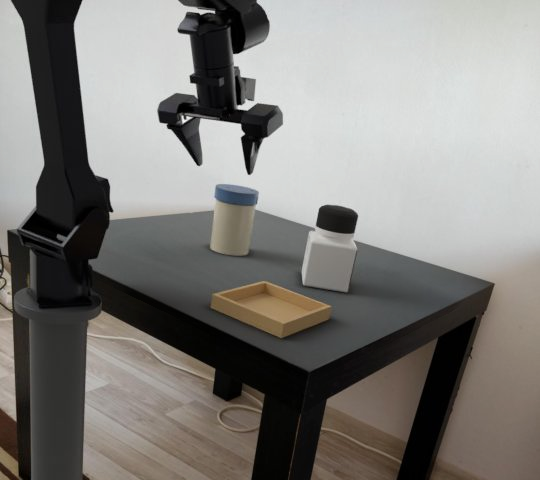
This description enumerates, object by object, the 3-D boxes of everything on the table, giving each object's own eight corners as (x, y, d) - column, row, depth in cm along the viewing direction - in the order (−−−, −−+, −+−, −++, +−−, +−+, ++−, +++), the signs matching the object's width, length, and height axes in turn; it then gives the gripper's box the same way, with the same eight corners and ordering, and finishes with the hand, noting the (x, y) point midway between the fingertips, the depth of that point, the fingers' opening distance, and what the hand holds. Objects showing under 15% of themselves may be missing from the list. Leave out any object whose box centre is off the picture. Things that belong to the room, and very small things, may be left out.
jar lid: (262, 202, 100) (264, 191, 100) (249, 207, 94) (251, 195, 93) (223, 193, 102) (224, 182, 101) (207, 198, 95) (209, 186, 95)
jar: (222, 256, 97) (230, 194, 93) (203, 244, 102) (209, 185, 98) (256, 255, 101) (265, 196, 97) (236, 244, 106) (243, 187, 102)
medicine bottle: (348, 293, 89) (365, 215, 84) (302, 286, 89) (317, 207, 84) (343, 279, 96) (359, 206, 91) (301, 273, 96) (315, 199, 91)
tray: (281, 338, 69) (283, 323, 68) (210, 307, 74) (212, 293, 73) (328, 319, 77) (331, 306, 77) (262, 293, 83) (264, 280, 82)
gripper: (297, 52, 84) (299, 157, 94) (188, 42, 90) (201, 142, 101) (262, 76, 77) (268, 187, 87) (146, 64, 83) (165, 168, 94)
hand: (224, 169), depth 92 cm, fingers open, 9 cm apart
